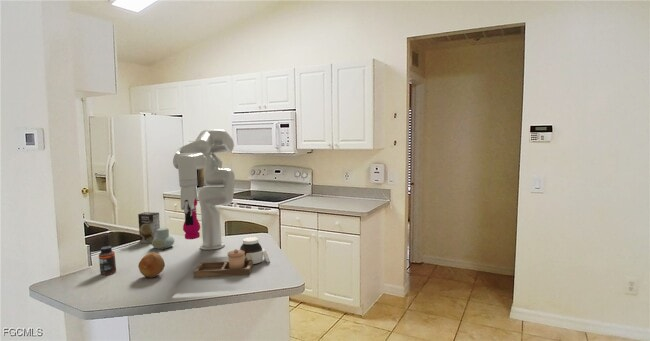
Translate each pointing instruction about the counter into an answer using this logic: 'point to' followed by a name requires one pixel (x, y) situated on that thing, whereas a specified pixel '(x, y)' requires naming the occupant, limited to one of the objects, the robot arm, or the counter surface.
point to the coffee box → (148, 226)
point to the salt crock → (236, 259)
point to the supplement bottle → (107, 261)
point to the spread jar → (253, 250)
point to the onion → (151, 265)
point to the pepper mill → (192, 226)
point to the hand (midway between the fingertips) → (191, 222)
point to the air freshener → (163, 239)
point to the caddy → (221, 269)
